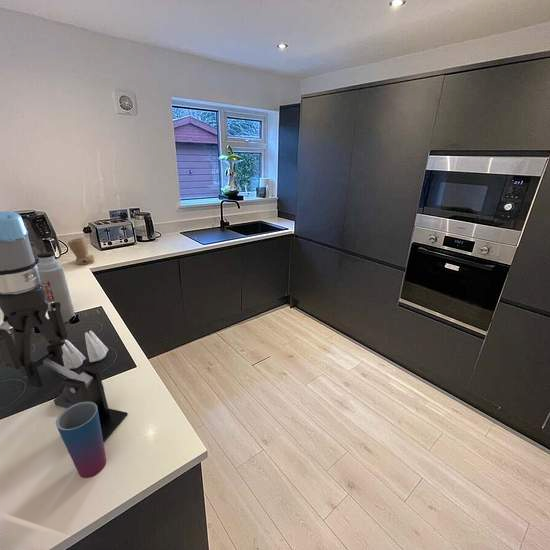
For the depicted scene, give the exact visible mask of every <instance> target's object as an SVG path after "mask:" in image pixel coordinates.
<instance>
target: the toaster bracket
mask: <svg viewBox="0 0 550 550" xmlns="http://www.w3.org/2000/svg"><path fill="white" fill-rule="evenodd" d="M79 372H80V374H81V373H82V372H84V373H86V374H88V375H90V376H92V377H93V382H92V385H91V386H89V387H88V388H86V385H85V381H80V380H76V379H71V378H69V377H67V378H66V379H65V380H64V385H65V386H66V388H67V391H68V394H69V397H70V400H71V404H72V405H75V404H77V403H81V402H93V403H95V404H96V405H97V408H98V414H99V420H100V426H101V432H102V438H103V444H105V442H106V441H107V440H108V439H109V438H110V436H111V435H112V434H113V433H114V431H116V430H117V428H118V427H119V426H120V424H121V423H122V422H123V421H124V420H125V419H126V418H127V416H128V415H129V414H128V412H126V411H122V410H119V409H114V408H109V405H108V401H107V397H106V393H105V388H104V385H102V384H103V381H102V376H101V373H100V369H99V368H98V369H97V368H93V367H87V366H81V367H80V368H79ZM103 388H104V389H103Z"/></svg>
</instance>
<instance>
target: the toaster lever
mask: <svg viewBox="0 0 550 550" xmlns="http://www.w3.org/2000/svg"><path fill="white" fill-rule="evenodd" d="M54 356H55V353H54V352H52V351H50V352H49V353H48V352H47V353H46V354H44V355H43V356H41V357H40V358H38V359H36V360H34V362H35V364H36V367H37V368H39V367H40V366H42V365H43V366H45V367H46V368H49V369H51V370H53V371H55V372H57V373H59V374H61V375H63V376H65V377H67V378H71V379H76V380H80V381H85V385H86V388H88V387H89V386H91V385H92V382H93V377H92V376H90V375H88V374H86V373H84V372H82V373H81V372H80V374H79V373H76V372H75V371H72V370H71V369H67V368H65V367H63V366H61V365H59V364H57V363H55V362H53V361H51V360H50V359H51V358H52V357H54Z"/></svg>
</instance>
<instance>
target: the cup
mask: <svg viewBox="0 0 550 550" xmlns="http://www.w3.org/2000/svg"><path fill="white" fill-rule="evenodd" d="M55 426H56V428H57V430H58V432H59V434H60V436H61V439H62V441H63V444H64V446H65V447H66V449H67V453H68V455H69V456H70V458H71V460H72V462H73V464H74V467H75V469H76V471H77V473H78V475H79V477H81V478H82V479H90V478H93V477H95V476H96V475H98V474H100V473H101V472H102V471H103V469H104V468H105V466H106V464H107V456H106V449H105V443H103V438H102V432H101V426H100V420H99V414H98V408H97V405H96V404H95V403H93V402H81V403H77V404H75V405H72V406H70V407H69V408H65V409H64V410H63V411H62V412H61V413H60V414H59V415H58V417H57V418H56V421H55Z"/></svg>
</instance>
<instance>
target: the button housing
mask: <svg viewBox="0 0 550 550" xmlns="http://www.w3.org/2000/svg"><path fill="white" fill-rule="evenodd" d="M102 385H103V383H102ZM103 386H104V385H103ZM103 389H104V390H105V387H103ZM53 403H54V405H55V407H60V408H65V409H67V408H69V407H70V406H72V404H71V400H70V397H69V394H68V391H67V388H66V385H65V386H64V387H63V390H62V393H60V394H58V396H57V397H56V398H54V399H53Z"/></svg>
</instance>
